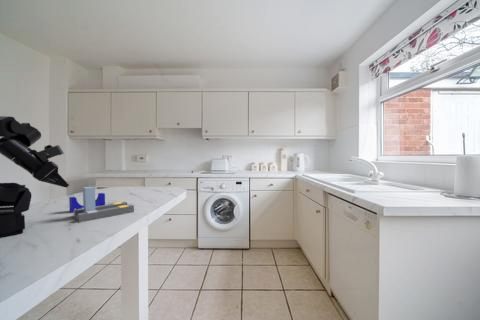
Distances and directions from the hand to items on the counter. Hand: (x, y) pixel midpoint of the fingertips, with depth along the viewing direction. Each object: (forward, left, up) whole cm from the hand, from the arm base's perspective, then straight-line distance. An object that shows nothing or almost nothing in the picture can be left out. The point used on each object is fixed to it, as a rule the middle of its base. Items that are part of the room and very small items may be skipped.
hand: (66, 185), depth 76 cm
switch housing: (+12, 0, -13) cm, 17 cm away
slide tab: (+7, 0, -11) cm, 13 cm away
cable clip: (+9, +14, -13) cm, 21 cm away
